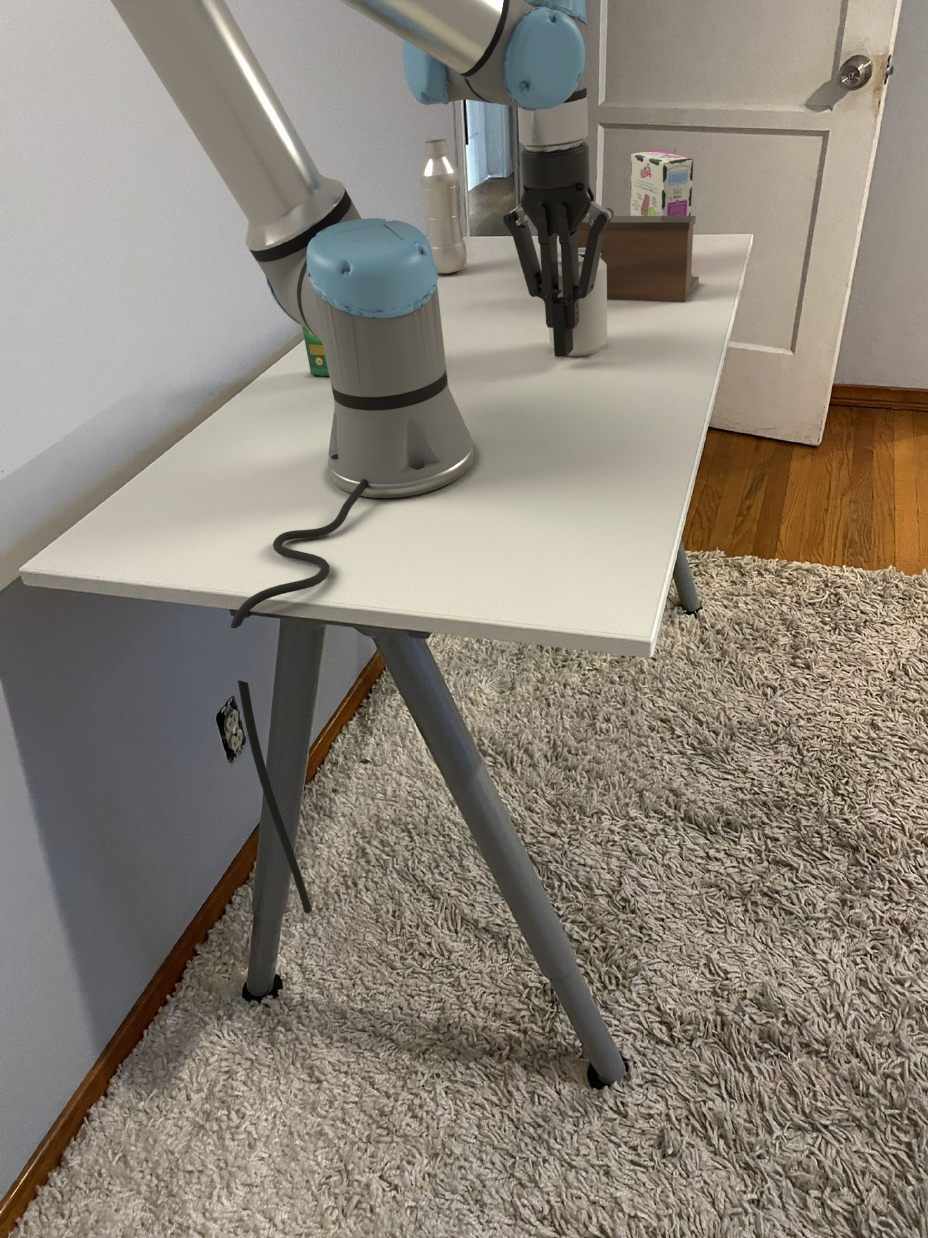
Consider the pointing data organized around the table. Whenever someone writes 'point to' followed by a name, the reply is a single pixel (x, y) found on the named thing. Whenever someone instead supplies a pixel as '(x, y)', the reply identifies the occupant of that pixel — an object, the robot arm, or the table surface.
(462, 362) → the table surface
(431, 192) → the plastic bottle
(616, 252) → the wooden box
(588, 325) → the can
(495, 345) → the table surface
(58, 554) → the table surface
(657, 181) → the candy bar box
